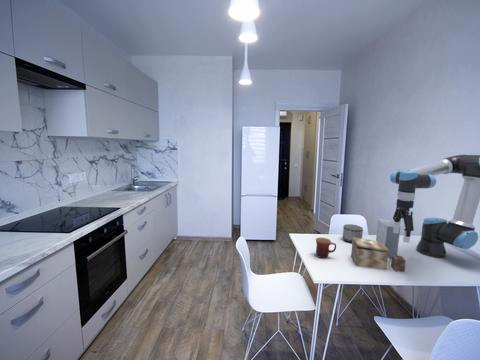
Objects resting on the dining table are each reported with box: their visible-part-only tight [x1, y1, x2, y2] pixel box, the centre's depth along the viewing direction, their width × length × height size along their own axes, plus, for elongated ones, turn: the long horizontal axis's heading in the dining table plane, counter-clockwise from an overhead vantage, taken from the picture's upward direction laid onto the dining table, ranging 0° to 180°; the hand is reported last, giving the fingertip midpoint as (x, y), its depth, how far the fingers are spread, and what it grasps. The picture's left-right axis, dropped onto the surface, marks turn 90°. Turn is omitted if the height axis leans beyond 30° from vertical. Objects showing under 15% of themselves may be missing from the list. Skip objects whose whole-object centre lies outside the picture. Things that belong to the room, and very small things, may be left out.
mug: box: [315, 237, 337, 259], centre depth 145 cm, size 12×9×10 cm
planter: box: [342, 223, 364, 244], centre depth 171 cm, size 13×13×10 cm
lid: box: [352, 237, 389, 252], centre depth 138 cm, size 16×12×1 cm
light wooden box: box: [350, 241, 389, 270], centre depth 138 cm, size 16×12×10 cm
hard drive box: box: [375, 218, 401, 259], centre depth 152 cm, size 16×8×20 cm, turn 168°
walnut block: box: [390, 254, 407, 273], centre depth 132 cm, size 5×5×7 cm
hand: (400, 237), depth 130 cm, fingers open, 13 cm apart
